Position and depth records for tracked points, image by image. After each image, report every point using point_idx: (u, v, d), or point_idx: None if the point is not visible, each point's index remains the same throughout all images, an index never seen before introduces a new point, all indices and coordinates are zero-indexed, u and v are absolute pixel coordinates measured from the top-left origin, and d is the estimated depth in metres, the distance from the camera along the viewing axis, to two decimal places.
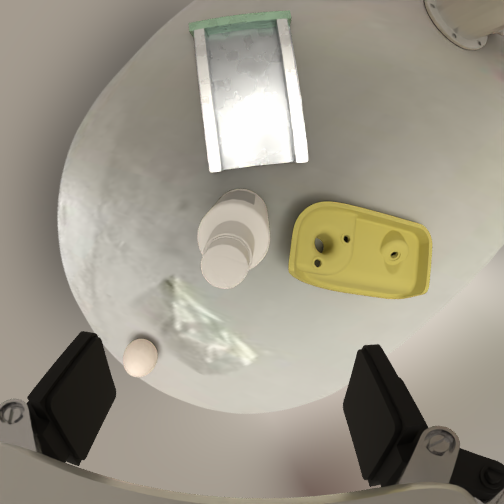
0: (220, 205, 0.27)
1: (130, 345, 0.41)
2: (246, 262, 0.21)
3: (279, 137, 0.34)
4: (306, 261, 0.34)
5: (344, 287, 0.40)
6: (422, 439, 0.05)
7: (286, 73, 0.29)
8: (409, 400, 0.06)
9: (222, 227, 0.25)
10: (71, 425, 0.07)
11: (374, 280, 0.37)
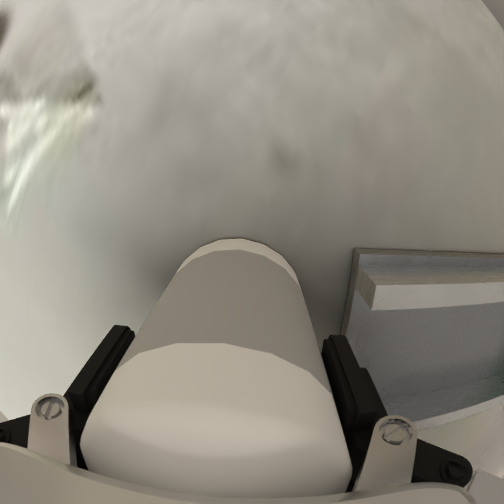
0: (350, 476, 0.05)
1: None
2: None
3: (379, 386, 0.17)
4: None
5: None
6: (377, 427, 0.06)
7: (470, 407, 0.15)
8: (367, 388, 0.07)
9: None
10: None
11: None
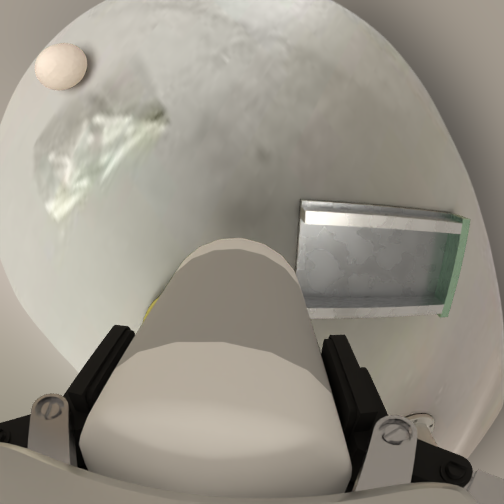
0: (350, 475, 0.05)
1: (79, 54, 0.21)
2: None
3: (324, 285, 0.32)
4: None
5: None
6: (377, 427, 0.06)
7: (391, 307, 0.30)
8: (367, 388, 0.07)
9: None
10: None
11: None
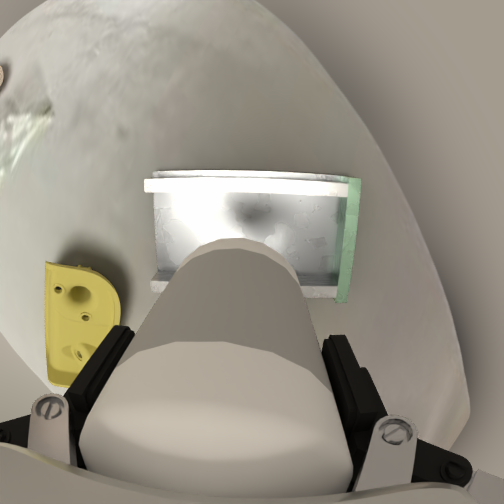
0: (351, 475, 0.05)
1: None
2: None
3: None
4: (58, 278, 0.26)
5: (48, 299, 0.32)
6: (377, 427, 0.06)
7: None
8: (367, 388, 0.07)
9: None
10: None
11: (53, 334, 0.31)
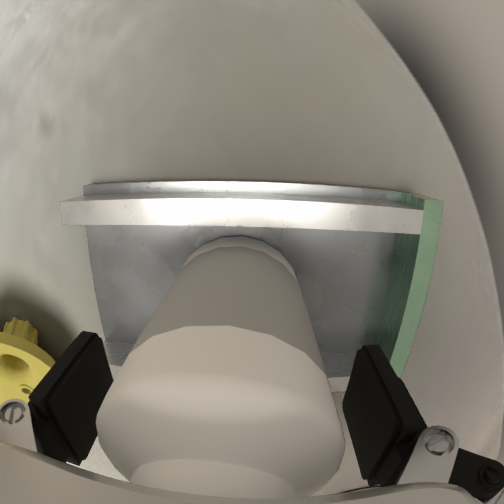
0: (343, 450, 0.06)
1: None
2: None
3: (143, 326, 0.18)
4: None
5: None
6: (421, 439, 0.05)
7: None
8: (408, 400, 0.06)
9: None
10: (72, 425, 0.07)
11: None
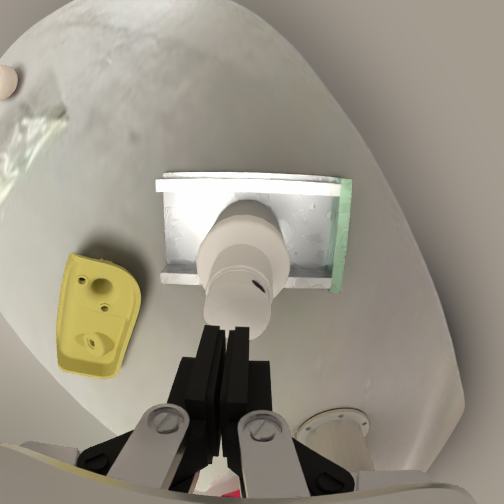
0: (289, 258, 0.21)
1: (8, 72, 0.23)
2: None
3: (193, 253, 0.33)
4: (83, 270, 0.29)
5: (65, 288, 0.35)
6: (243, 419, 0.07)
7: None
8: (245, 379, 0.08)
9: (271, 279, 0.19)
10: (216, 421, 0.08)
11: (69, 322, 0.33)
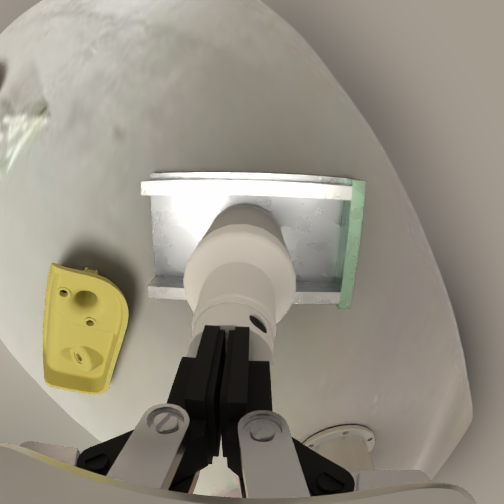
0: (295, 278, 0.18)
1: None
2: None
3: (184, 264, 0.29)
4: (65, 282, 0.25)
5: (49, 299, 0.31)
6: (243, 419, 0.07)
7: None
8: (245, 379, 0.08)
9: (274, 306, 0.15)
10: (216, 421, 0.08)
11: (53, 336, 0.29)
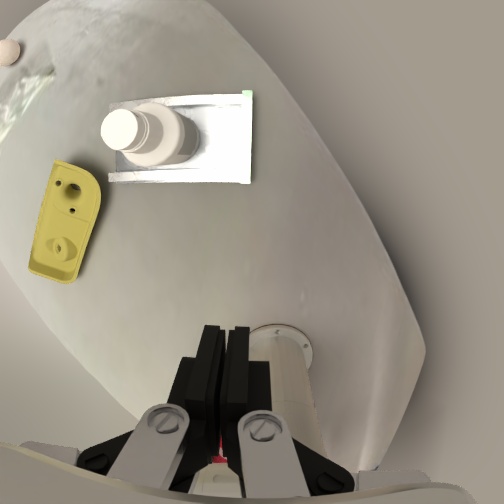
0: (179, 125, 0.27)
1: (14, 44, 0.29)
2: (120, 148, 0.21)
3: None
4: (61, 174, 0.34)
5: (45, 201, 0.40)
6: (243, 419, 0.07)
7: (181, 170, 0.37)
8: (245, 379, 0.08)
9: (156, 127, 0.24)
10: (216, 421, 0.08)
11: (43, 226, 0.39)
